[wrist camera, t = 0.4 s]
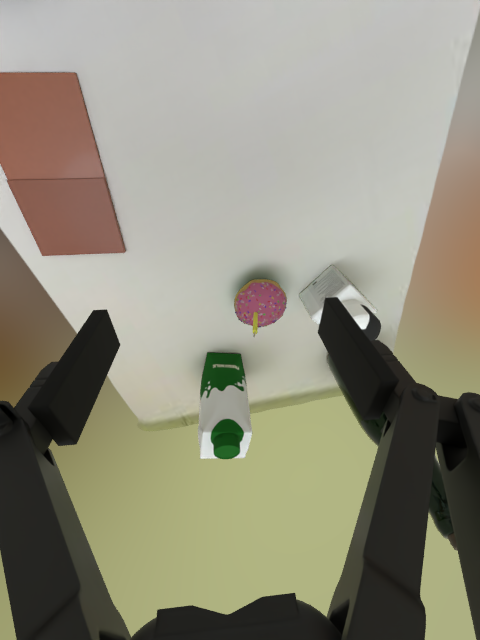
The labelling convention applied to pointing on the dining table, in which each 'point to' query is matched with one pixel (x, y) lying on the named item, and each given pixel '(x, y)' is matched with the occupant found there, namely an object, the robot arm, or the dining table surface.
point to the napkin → (55, 165)
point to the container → (347, 293)
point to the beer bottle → (438, 495)
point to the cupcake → (260, 303)
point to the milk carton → (224, 408)
